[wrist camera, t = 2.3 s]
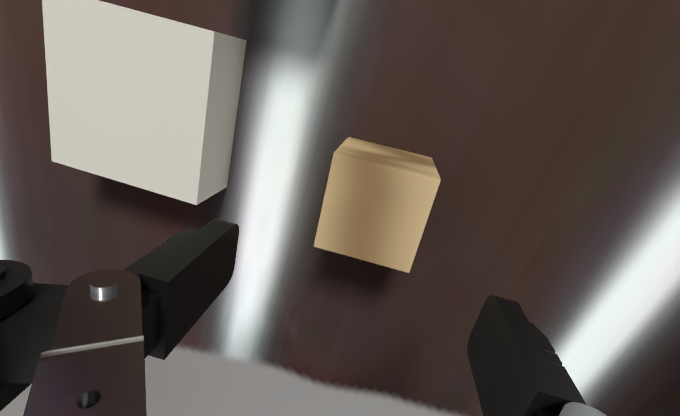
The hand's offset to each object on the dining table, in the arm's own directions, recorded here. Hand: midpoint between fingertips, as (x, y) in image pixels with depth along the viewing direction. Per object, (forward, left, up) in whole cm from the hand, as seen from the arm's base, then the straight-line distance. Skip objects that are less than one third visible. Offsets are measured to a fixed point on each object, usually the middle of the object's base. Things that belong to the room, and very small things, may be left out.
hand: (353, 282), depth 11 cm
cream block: (+14, -2, -12) cm, 18 cm away
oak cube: (0, 0, -11) cm, 11 cm away
